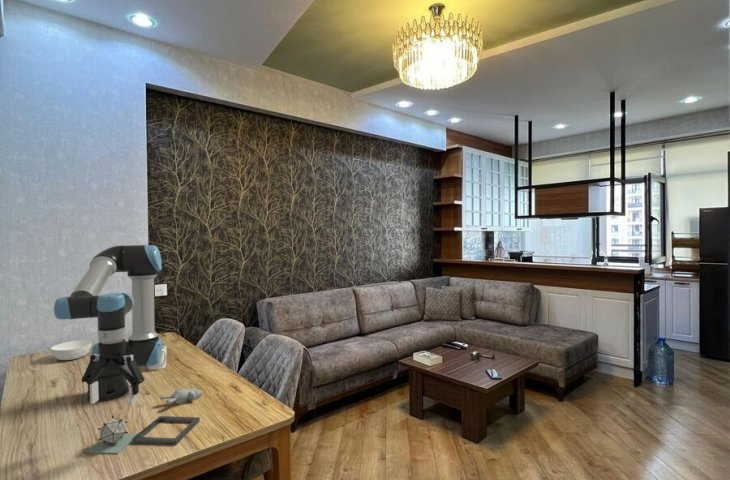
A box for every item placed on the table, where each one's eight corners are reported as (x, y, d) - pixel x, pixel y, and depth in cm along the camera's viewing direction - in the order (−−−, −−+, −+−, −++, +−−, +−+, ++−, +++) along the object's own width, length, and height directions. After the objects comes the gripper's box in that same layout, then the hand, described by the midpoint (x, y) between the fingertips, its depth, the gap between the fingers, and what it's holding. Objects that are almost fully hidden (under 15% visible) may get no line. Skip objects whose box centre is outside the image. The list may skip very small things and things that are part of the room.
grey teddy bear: (205, 389, 160) (169, 397, 148) (204, 401, 160) (167, 410, 148) (195, 383, 166) (159, 390, 155) (194, 395, 166) (158, 403, 154)
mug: (143, 369, 193) (142, 349, 193) (158, 363, 201) (158, 344, 201) (158, 372, 189) (158, 352, 189) (173, 366, 197) (173, 347, 197)
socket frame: (132, 443, 127) (132, 438, 126) (160, 419, 142) (160, 416, 142) (176, 444, 125) (176, 440, 125) (199, 421, 141) (199, 417, 141)
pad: (85, 452, 121) (85, 451, 121) (110, 434, 132) (110, 433, 132) (117, 454, 120) (117, 452, 120) (140, 435, 131) (140, 434, 131)
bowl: (98, 356, 214) (98, 343, 214) (58, 366, 198) (58, 352, 198) (84, 350, 224) (83, 338, 224) (45, 359, 208) (45, 346, 208)
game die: (110, 451, 127) (109, 420, 132) (134, 441, 128) (133, 411, 133) (90, 452, 119) (90, 419, 124) (116, 441, 120) (115, 409, 125)
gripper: (66, 343, 122) (69, 406, 123) (140, 345, 121) (142, 410, 122) (85, 335, 130) (87, 396, 131) (155, 338, 128) (156, 399, 129)
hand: (113, 402), depth 126 cm, fingers open, 13 cm apart
